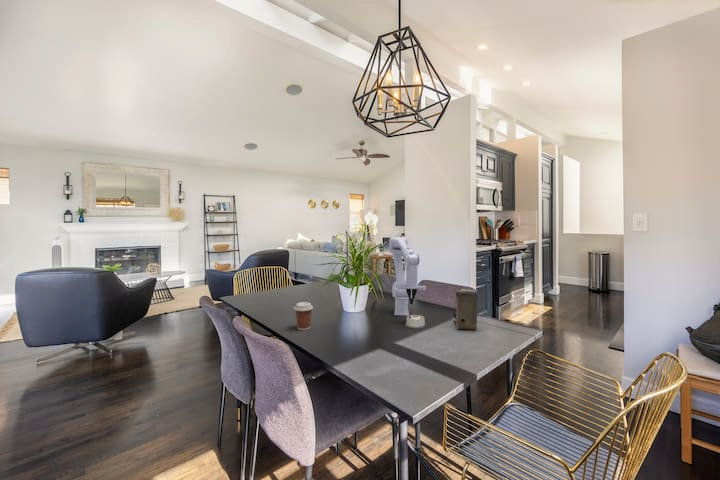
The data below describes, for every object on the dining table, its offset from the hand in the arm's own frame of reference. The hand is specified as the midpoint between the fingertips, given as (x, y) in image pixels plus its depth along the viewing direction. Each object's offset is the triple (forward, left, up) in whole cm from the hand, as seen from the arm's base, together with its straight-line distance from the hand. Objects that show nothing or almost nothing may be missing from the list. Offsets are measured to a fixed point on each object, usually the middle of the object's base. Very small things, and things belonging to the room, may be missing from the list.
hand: (411, 303), depth 170 cm
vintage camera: (+1, +26, -10) cm, 28 cm away
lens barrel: (+4, +2, -10) cm, 11 cm away
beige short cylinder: (+4, +2, -10) cm, 11 cm away
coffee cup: (+14, -53, -10) cm, 56 cm away
